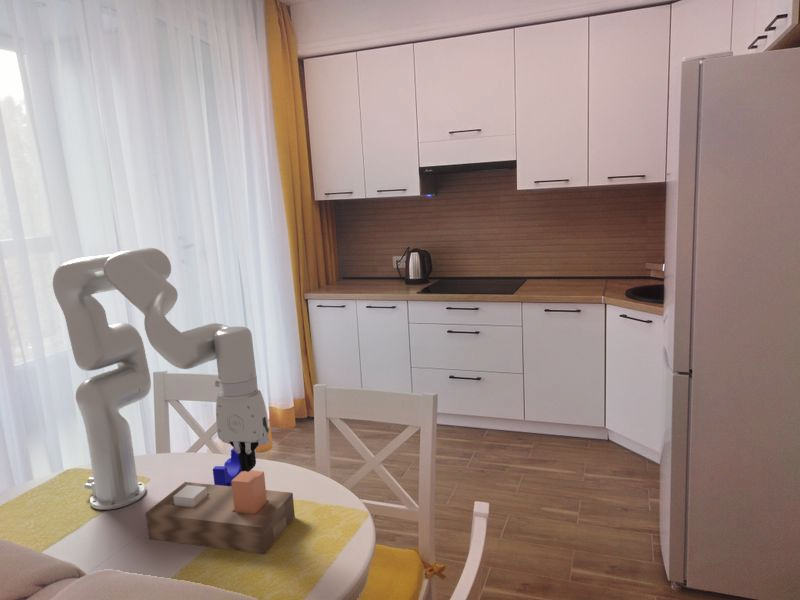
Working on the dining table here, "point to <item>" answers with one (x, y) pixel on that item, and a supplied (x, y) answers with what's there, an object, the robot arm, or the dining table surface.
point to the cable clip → (227, 470)
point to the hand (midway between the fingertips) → (248, 468)
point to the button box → (221, 520)
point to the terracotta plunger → (249, 492)
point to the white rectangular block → (190, 496)
